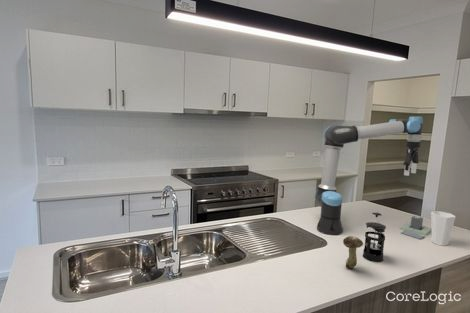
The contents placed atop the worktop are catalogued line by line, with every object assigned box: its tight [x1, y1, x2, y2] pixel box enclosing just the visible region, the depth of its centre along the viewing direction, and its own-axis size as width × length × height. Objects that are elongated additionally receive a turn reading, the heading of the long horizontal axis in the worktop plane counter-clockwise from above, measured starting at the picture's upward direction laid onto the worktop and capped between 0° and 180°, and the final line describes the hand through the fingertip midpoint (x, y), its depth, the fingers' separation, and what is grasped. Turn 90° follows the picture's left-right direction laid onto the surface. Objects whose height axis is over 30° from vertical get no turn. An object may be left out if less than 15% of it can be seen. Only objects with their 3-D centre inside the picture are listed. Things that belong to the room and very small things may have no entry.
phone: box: [400, 230, 426, 241], centre depth 175 cm, size 11×6×1 cm, turn 35°
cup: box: [430, 210, 456, 247], centre depth 163 cm, size 11×10×17 cm
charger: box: [410, 215, 424, 230], centre depth 184 cm, size 5×5×8 cm
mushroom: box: [342, 235, 364, 270], centre depth 132 cm, size 9×9×15 cm
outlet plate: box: [400, 221, 432, 237], centre depth 184 cm, size 14×14×2 cm
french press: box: [362, 212, 387, 263], centre depth 143 cm, size 12×9×23 cm
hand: (410, 174), depth 186 cm, fingers open, 13 cm apart
